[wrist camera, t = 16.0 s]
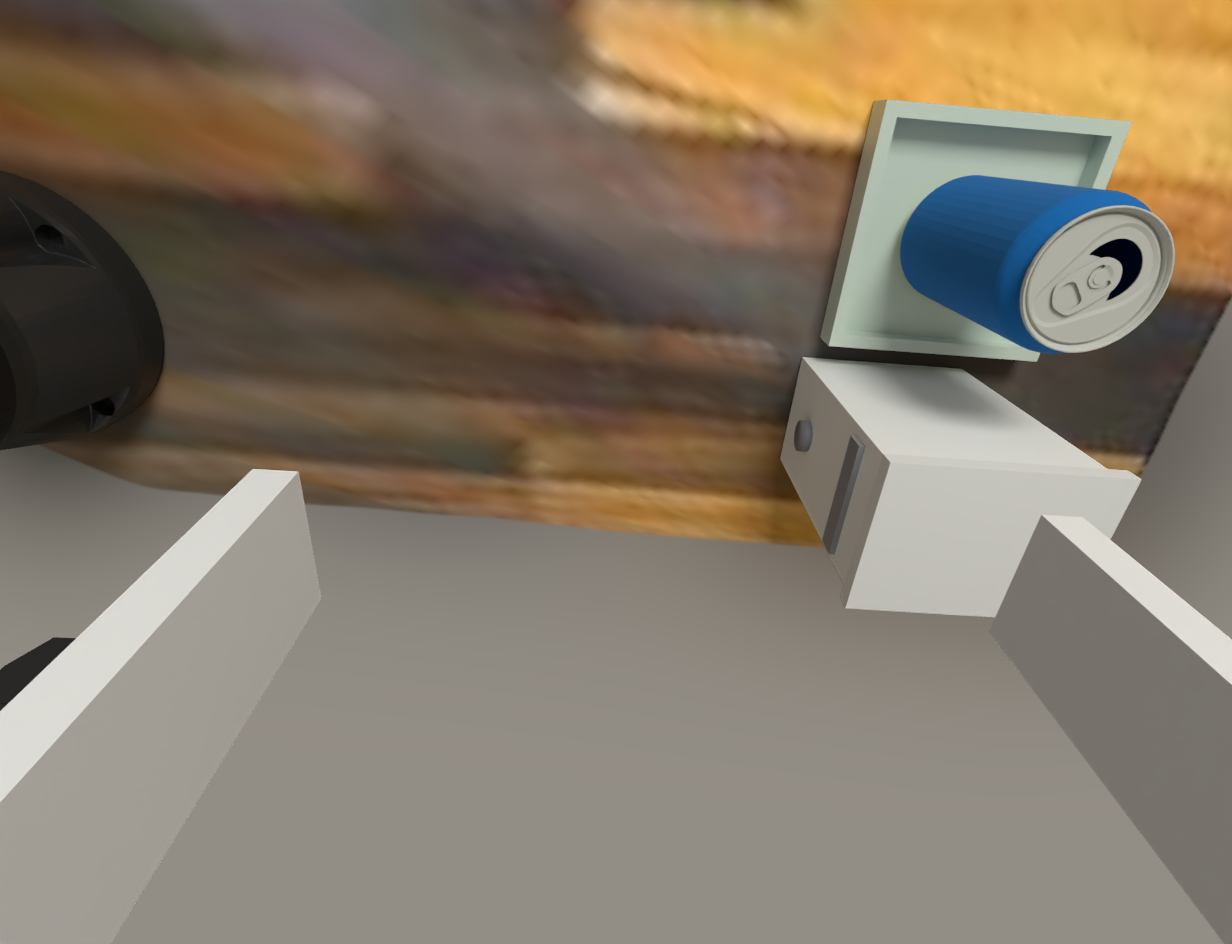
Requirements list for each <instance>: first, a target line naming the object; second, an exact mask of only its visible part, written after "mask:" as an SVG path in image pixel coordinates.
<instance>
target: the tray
mask: <svg viewBox="0 0 1232 944" xmlns="http://www.w3.org/2000/svg"><path fill="white" fill-rule="evenodd" d="M1131 123H1132V122H1130V121H1119V120H1108V119H1097V118H1086V117H1075V116H1064V115H1052V114H1041V113H1030V112H1019V111H1008V110H997V109H986V108H974V107H963V106H952V105H941V104H930V103H919V102H908V101H897V100H879V101H874V103H873V108H872V112H871V117H870V121H869V125H868V130H867V134H866V138H865V143H864V147H863V151H862V156H861V160H860V165H859V169H858V173H857V178H856V182H855V186H854V191H853V195H852V199H851V204H850V208H849V213H848V217H847V221H846V226H845V230H844V234H843V239H842V243H841V247H840V252H839V256H838V261H837V265H836V269H835V274H834V278H833V282H832V287H831V291H830V295H829V300H828V304H827V309H826V313H825V317H824V322H823V326H822V330H821V335H820V338H821V339H822V340H823V341H824V342H825V343H826V344H827V345H828V346H834V347H848V348H861V349H875V350H888V351H902V352H915V353H928V354H942V355H955V356H969V357H982V358H995V359H1009V360H1022V361H1036V362H1037V360H1038V357H1039V355H1040V353H1039V352H1035V351H1031V350H1028V349H1026V348H1023V347H1021V346H1019V345H1017V344H1015V343H1013V342H1011V341H1010V340H1008V339H1006V338H1004V337H1002V336H1000V335H998V334H996V333H994V332H992V331H991V330H989V329H987V328H985V327H983V326H981V325H979V324H977V323H975V322H973V321H971V320H970V319H968V318H966V317H964V316H962V315H960V314H958V313H956V312H954V311H952V310H950V309H949V308H947V307H945V306H943V305H941V304H939V303H937V302H935V301H933V300H931V299H930V298H928V297H926V296H924V295H922V294H921V293H919V292H918V291H916V290H915V289H914V288H913V287H912V286H911V284H910V283H909V282H908V280H907V279H906V277H905V275H904V272H903V270H902V266H901V261H900V245H901V239H902V235H903V232H904V229H905V226H906V224H907V222H908V220H909V218H910V216H911V214H912V213H913V212H914V210H915V209H916V207H917V206H918V205H919V204H920V203H921V201H922V200H923V199H924V198H925V197H926V196H928V195H929V194H930V193H931V192H932V191H934V190H935V189H936V188H938V187H939V186H941V185H943V184H945V183H947V182H949V181H951V180H953V179H957V178H960V177H964V176H970V175H982V176H990V177H999V178H1008V179H1016V180H1025V181H1033V182H1042V183H1051V184H1059V185H1068V186H1077V187H1085V188H1094V189H1102V190H1105V189H1106V186H1107V184H1108V181H1109V179H1110V176H1111V174H1112V171H1113V168H1114V166H1115V163H1116V161H1117V158H1118V156H1119V153H1120V151H1121V148H1122V146H1123V143H1124V141H1125V138H1126V136H1127V133H1128V131H1129V128H1130V126H1131Z"/></svg>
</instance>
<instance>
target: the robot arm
mask: <svg viewBox="0 0 1232 944" xmlns="http://www.w3.org/2000/svg"><path fill="white" fill-rule="evenodd" d="M162 361H163V335H162V328H161V324H160V319H159V316H158V312H157V309H156V306H155V304H154V301H153V298H152V296H151V294H150V292H149V290H148V288H147V286H146V284H145V282H144V280H143V278H142V277H141V275H140V273H139V272H138V270H137V268H136V267H135V266H134V264H133V263H132V261H131V260H130V258H129V257H128V256H127V254H126V253H125V252H124V251H123V249H122V248H121V247H120V246H119V245H118V244H117V242H116V241H115V240H114V239H113V238H112V237H111V236H110V235H109V234H108V233H107V232H106V231H105V230H104V229H103V228H102V227H101V226H100V225H99V224H98V223H97V222H95V221H94V220H93V219H92V218H91V217H90V216H88V215H87V214H86V213H85V212H83V211H82V210H81V209H79V208H78V207H77V206H75V205H74V204H72V203H71V202H69V201H68V200H66V199H65V198H63V197H61V196H60V195H58V194H57V193H55V192H53V191H51V190H49V189H47V188H45V187H43V186H41V185H39V184H37V183H35V182H32V181H30V180H27V179H25V178H22V177H19V176H16V175H13V174H10V173H6V172H2V171H0V450H5V449H11V448H18V447H24V446H31V445H37V444H44V443H50V442H57V441H63V440H70V439H75V438H79V437H83V436H86V435H89V434H92V433H95V432H98V431H100V430H102V429H104V428H106V427H108V426H109V425H111V424H113V423H115V422H116V421H118V420H120V419H121V418H123V417H125V416H127V415H128V414H130V413H131V412H133V411H134V410H135V409H137V408H138V407H139V406H140V405H141V404H142V403H143V402H144V401H145V400H146V399H147V398H148V396H149V395H150V393H151V392H152V390H153V388H154V387H155V385H156V382H157V380H158V378H159V374H160V371H161V367H162ZM320 600H321V593H320V588H319V582H318V577H317V571H316V566H315V560H314V554H313V549H312V543H311V538H310V532H309V527H308V521H307V516H306V510H305V505H304V499H303V493H302V488H301V482H300V477H299V472H296V471H279V470H262V469H252V470H251V471H250V472H249V473H248V474H247V475H246V476H245V477H244V478H243V479H242V480H241V481H240V482H239V483H238V484H237V485H236V486H235V487H234V488H233V489H231V490H230V491H229V492H228V493H227V494H226V495H225V496H224V497H223V498H222V499H221V500H220V501H219V502H218V503H217V504H216V505H215V506H214V507H213V508H212V509H211V510H210V511H209V512H208V513H207V514H206V515H205V516H203V517H202V518H201V519H200V520H199V521H198V522H197V523H196V524H195V525H194V526H193V527H192V528H191V529H190V530H189V531H188V532H187V533H186V534H185V535H184V536H182V537H181V539H179V540H178V541H177V542H176V543H175V544H174V545H173V546H172V547H171V548H170V549H169V550H168V551H167V552H166V553H165V554H164V555H163V556H162V557H161V558H160V559H159V560H158V561H156V562H155V563H154V564H153V565H152V566H151V567H150V568H149V569H148V570H147V571H146V572H145V573H144V574H143V575H142V576H141V577H140V578H139V579H138V580H137V581H136V582H135V583H134V584H132V585H131V586H130V587H129V588H128V589H127V590H126V591H125V592H124V593H123V594H122V595H121V596H120V597H119V598H118V599H117V600H116V601H115V602H114V603H113V604H112V605H111V606H110V607H108V609H106V610H105V611H104V612H103V613H102V614H101V615H100V616H99V617H98V618H97V619H96V620H95V621H94V622H93V623H92V624H91V625H90V626H89V627H88V628H87V629H85V631H83V632H82V633H81V634H80V635H79V636H78V637H77V638H52V639H51V640H49V641H47V642H45V643H43V644H42V645H40V646H38V647H37V648H35V649H33V650H31V651H30V652H28V653H26V654H25V655H23V656H21V657H19V658H18V659H16V660H14V661H12V662H11V663H9V664H7V665H5V666H4V667H3V668H2V669H1V670H0V944H111V943H112V941H113V939H114V937H115V936H116V934H117V933H118V931H119V929H120V928H121V926H122V925H123V923H124V921H125V920H126V918H127V916H128V914H129V913H130V911H131V910H132V908H133V907H134V905H135V903H136V902H137V900H138V898H139V897H140V895H141V893H142V892H143V890H144V888H145V887H146V885H147V883H148V882H149V880H150V878H151V877H152V875H153V874H154V872H155V871H156V869H157V867H158V865H159V864H160V862H161V861H162V859H163V857H164V856H165V854H166V852H167V851H168V849H169V847H170V846H171V844H172V842H173V841H174V839H175V838H176V836H177V834H178V833H179V831H180V830H181V828H182V826H183V824H184V823H185V821H186V820H187V818H188V816H189V815H190V813H191V811H192V810H193V808H194V807H195V805H196V803H197V802H198V800H199V798H200V797H201V795H202V793H203V792H204V790H205V788H206V787H207V785H208V784H209V782H210V780H211V779H212V777H213V775H214V774H215V772H216V771H217V769H218V767H219V766H220V764H221V762H222V760H223V759H224V757H225V756H226V754H227V753H228V751H229V749H230V748H231V746H232V744H233V743H234V741H235V739H236V738H237V736H238V734H239V733H240V731H241V730H242V728H243V726H244V725H245V723H246V721H247V720H248V718H249V716H250V715H251V713H252V712H253V710H254V708H255V707H256V705H257V703H258V702H259V700H260V698H261V697H262V695H263V693H264V692H265V690H266V689H267V687H268V685H269V684H270V682H271V680H272V679H273V677H274V675H275V674H276V672H277V670H278V669H279V667H280V665H281V664H282V662H283V661H284V659H285V657H286V656H287V654H288V653H289V651H290V649H291V648H292V646H293V644H294V643H295V641H296V639H297V638H298V636H299V634H300V633H301V631H302V629H303V628H304V626H305V625H306V623H307V621H308V620H309V618H310V616H311V615H312V613H313V612H314V610H315V608H316V607H317V605H318V603H319V601H320ZM989 633H990V634H991V635H992V637H993V638H994V639H995V641H996V642H997V643H998V645H999V646H1000V647H1001V649H1002V650H1003V651H1004V653H1005V654H1006V655H1007V656H1008V658H1009V659H1010V661H1011V662H1012V663H1013V665H1014V666H1015V667H1016V668H1017V670H1018V671H1019V672H1020V674H1021V675H1022V676H1023V678H1024V679H1025V680H1026V682H1027V683H1028V684H1029V686H1030V687H1031V688H1032V689H1033V691H1034V692H1035V694H1036V695H1037V696H1038V698H1039V699H1040V700H1041V701H1042V703H1043V704H1044V706H1045V707H1046V708H1047V709H1048V711H1049V712H1050V714H1051V715H1052V716H1053V718H1054V719H1055V720H1056V722H1057V723H1058V724H1059V726H1060V727H1061V728H1062V730H1063V731H1064V732H1065V733H1066V735H1067V736H1068V737H1069V739H1070V740H1071V741H1072V743H1073V744H1074V745H1075V747H1076V748H1077V749H1078V751H1079V752H1080V753H1081V755H1082V756H1083V757H1084V759H1085V760H1086V761H1087V762H1088V764H1089V765H1090V767H1091V768H1092V769H1093V771H1094V772H1095V773H1096V775H1097V776H1098V777H1099V778H1100V780H1101V781H1102V783H1103V784H1104V785H1105V787H1106V788H1107V789H1108V791H1109V792H1110V793H1111V794H1112V796H1113V797H1114V798H1115V800H1116V801H1117V802H1118V804H1119V805H1120V806H1121V808H1122V809H1123V810H1124V812H1125V813H1126V814H1127V815H1128V817H1129V818H1130V820H1131V821H1132V822H1133V823H1134V825H1135V826H1136V828H1137V829H1138V830H1139V832H1140V833H1141V834H1142V836H1143V837H1144V838H1145V839H1146V841H1147V842H1148V844H1149V845H1150V846H1151V848H1152V849H1153V850H1154V851H1155V853H1156V854H1157V855H1158V857H1159V858H1160V859H1161V861H1162V862H1163V863H1164V865H1165V866H1166V867H1167V869H1168V870H1169V871H1170V873H1171V874H1172V875H1173V877H1174V878H1175V879H1176V881H1177V882H1178V883H1179V885H1180V886H1181V887H1182V889H1183V890H1184V891H1185V893H1186V894H1187V895H1188V897H1189V898H1190V899H1191V901H1192V902H1193V903H1194V905H1195V906H1196V907H1197V908H1198V910H1199V911H1200V913H1201V914H1202V915H1203V916H1204V918H1205V919H1206V920H1207V922H1208V923H1209V924H1210V926H1211V927H1212V928H1213V930H1214V931H1215V932H1216V934H1217V935H1218V936H1219V938H1220V939H1221V940H1222V942H1223V943H1224V944H1232V640H1231V639H1230V638H1229V637H1228V636H1227V635H1225V634H1224V633H1223V632H1222V631H1221V630H1219V629H1218V628H1217V627H1216V626H1214V625H1213V624H1212V623H1211V622H1209V621H1208V620H1207V619H1206V618H1205V617H1203V616H1202V615H1201V614H1200V613H1199V612H1197V611H1196V610H1195V609H1194V608H1192V607H1191V606H1190V605H1189V604H1188V603H1186V602H1185V601H1184V600H1183V599H1181V598H1180V597H1179V596H1178V595H1177V594H1175V593H1174V592H1173V591H1172V590H1171V589H1169V588H1168V587H1167V586H1166V585H1165V584H1163V583H1162V582H1161V581H1160V580H1158V579H1157V578H1156V577H1155V576H1154V575H1152V574H1151V573H1150V572H1149V571H1148V570H1146V569H1145V568H1144V567H1143V566H1141V565H1140V564H1139V563H1138V562H1137V561H1135V560H1134V559H1133V558H1132V557H1131V556H1129V555H1128V554H1127V553H1126V552H1124V551H1123V550H1122V549H1121V548H1120V547H1118V546H1117V545H1116V544H1115V543H1113V542H1112V541H1111V540H1110V539H1109V538H1107V537H1106V536H1105V535H1104V534H1103V533H1101V532H1100V531H1099V530H1098V529H1096V528H1095V527H1094V526H1093V525H1092V524H1090V523H1089V522H1088V521H1087V520H1085V519H1084V518H1083V517H1072V516H1055V515H1041V517H1040V519H1039V521H1038V523H1037V526H1036V528H1035V530H1034V532H1033V534H1032V537H1031V539H1030V541H1029V543H1028V546H1027V548H1026V550H1025V552H1024V554H1023V557H1022V559H1021V561H1020V563H1019V566H1018V568H1017V570H1016V572H1015V574H1014V577H1013V579H1012V581H1011V583H1010V586H1009V588H1008V590H1007V592H1006V594H1005V597H1004V599H1003V601H1002V603H1001V606H1000V608H999V610H998V612H997V614H996V617H995V619H994V621H993V623H992V626H991V628H990V630H989Z"/></svg>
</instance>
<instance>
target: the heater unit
mask: <svg viewBox="0 0 1232 944" xmlns="http://www.w3.org/2000/svg"><path fill="white" fill-rule="evenodd" d="M780 460H781V462H782V464H783V466H784V468H785V470H786V472H787V474H788V476H789V478H790V479H791V481H792V483H793V485H794V487H795V489H796V491H797V493H798V495H799V497H800V499H801V501H802V503H803V505H804V507H805V509H806V511H807V513H808V515H809V517H810V519H811V521H812V523H813V525H814V527H815V529H816V531H817V533H818V535H819V537H820V539H821V541H822V543H823V545H824V547H825V549H826V551H827V553H828V554H829V557H830V558H831V561H832V563H833V565H834V566H835V568H836V570H837V572H838V574H839V576H840V578H841V580H842V582H843V584H844V586H843V589H842V592H841V596H840V598H841V601H842V603H843V605H844V607H845V608H849V609H865V610H883V611H899V612H916V613H933V614H950V615H967V616H984V617H996V614H997V612H998V610H999V608H1000V606H1001V603H1002V601H1003V599H1004V597H1005V594H1006V592H1007V590H1008V588H1009V586H1010V583H1011V581H1012V579H1013V577H1014V574H1015V572H1016V570H1017V568H1018V566H1019V563H1020V561H1021V559H1022V557H1023V554H1024V552H1025V550H1026V548H1027V546H1028V543H1029V541H1030V539H1031V537H1032V534H1033V532H1034V530H1035V528H1036V526H1037V523H1038V521H1039V519H1040V517H1041V515H1055V516H1072V517H1083V518H1084V519H1085V520H1087V521H1088V522H1089V523H1090V524H1092V525H1093V526H1094V527H1095V528H1096V529H1098V530H1099V531H1100V532H1101V533H1103V534H1104V535H1105V536H1106V537H1107V538H1109V539H1111V537H1112V535H1113V533H1114V531H1115V529H1116V528H1117V526H1118V524H1119V521H1120V520H1121V518H1122V516H1123V514H1124V512H1125V510H1126V509H1127V507H1128V504H1129V503H1130V501H1131V499H1132V497H1133V495H1134V493H1135V491H1136V489H1137V488H1138V485H1139V483H1140V481H1141V479H1140V478H1139V477H1137V476H1135V475H1134V474H1132V473H1131V472H1129V471H1127V470H1113V469H1107V468H1105V467H1104V466H1102V465H1101V464H1099V463H1098V462H1097V461H1095V460H1094V459H1092V458H1091V457H1089V456H1088V455H1086V454H1085V453H1083V452H1082V451H1081V450H1079V449H1078V448H1076V447H1075V446H1073V445H1072V444H1070V443H1069V442H1067V441H1066V440H1065V439H1063V438H1062V437H1060V436H1059V435H1057V434H1056V433H1054V432H1053V431H1051V430H1050V429H1049V428H1047V427H1046V426H1044V425H1043V424H1041V423H1040V422H1038V421H1037V420H1035V419H1034V418H1033V417H1031V416H1030V415H1028V414H1027V413H1025V412H1024V411H1022V410H1021V409H1019V408H1018V407H1017V406H1015V405H1014V404H1012V403H1011V402H1009V401H1008V400H1006V399H1005V398H1003V397H1002V396H1001V395H999V394H998V393H996V392H995V391H993V390H992V389H990V388H989V387H987V386H986V385H985V384H983V383H982V382H980V381H979V380H977V379H976V378H974V377H973V376H971V375H970V374H969V373H967V372H966V371H964V370H963V369H958V368H944V367H931V366H917V365H904V364H890V363H877V362H863V361H849V360H836V359H822V358H809V357H802V361H801V365H800V370H799V374H798V379H797V383H796V388H795V393H794V397H793V402H792V406H791V411H790V415H789V420H788V425H787V429H786V434H785V438H784V443H783V447H782V452H781V456H780Z"/></svg>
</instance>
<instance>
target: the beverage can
mask: <svg viewBox="0 0 1232 944" xmlns="http://www.w3.org/2000/svg"><path fill="white" fill-rule="evenodd" d="M1174 260H1175V248H1174V243H1173V238H1172V236H1171V233H1170V231H1169V229H1168V228H1167V226H1166V225H1165V223H1164V222H1163V221H1162V220H1161V219H1160V218H1159V217H1158V216H1156V215H1155V214H1153V213H1152V212H1151V211H1150V210H1149V208H1148V207H1147V206H1146V205H1145V204H1143V203H1142V202H1141V201H1139V200H1138V199H1136V198H1134V197H1132V196H1130V195H1128V194H1125V193H1122V192H1118V191H1111V190H1102V189H1094V188H1085V187H1077V186H1068V185H1059V184H1051V183H1042V182H1033V181H1025V180H1016V179H1008V178H999V177H990V176H982V175H970V176H964V177H960V178H957V179H953V180H951V181H949V182H947V183H945V184H943V185H941V186H939V187H938V188H936V189H935V190H934V191H932V192H931V193H930V194H929V195H928V196H926V197H925V198H924V199H923V200H922V201H921V203H920V204H919V205H918V206H917V207H916V209H915V210H914V212H913V213H912V214H911V216H910V218H909V220H908V222H907V224H906V226H905V229H904V232H903V235H902V239H901V245H900V261H901V266H902V270H903V272H904V275H905V277H906V279H907V280H908V282H909V283H910V284H911V286H912V287H913V288H914V289H915V290H916V291H918V292H919V293H921V294H922V295H924V296H926V297H928V298H930V299H931V300H933V301H935V302H937V303H939V304H941V305H943V306H945V307H947V308H949V309H950V310H952V311H954V312H956V313H958V314H960V315H962V316H964V317H966V318H968V319H970V320H971V321H973V322H975V323H977V324H979V325H981V326H983V327H985V328H987V329H989V330H991V331H992V332H994V333H996V334H998V335H1000V336H1002V337H1004V338H1006V339H1008V340H1010V341H1011V342H1013V343H1015V344H1017V345H1019V346H1021V347H1023V348H1026V349H1028V350H1031V351H1035V352H1039V353H1049V354H1053V353H1066V352H1068V353H1078V352H1086V351H1091V350H1095V349H1099V348H1101V347H1104V346H1107V345H1109V344H1111V343H1113V342H1115V341H1117V340H1119V339H1120V338H1122V337H1124V336H1125V335H1127V334H1128V333H1130V332H1131V331H1132V330H1134V329H1135V328H1136V327H1137V326H1138V325H1139V324H1141V323H1142V322H1143V321H1144V320H1145V319H1146V318H1147V317H1148V315H1149V314H1150V313H1151V312H1152V311H1153V310H1154V308H1155V307H1156V306H1157V304H1158V303H1159V301H1160V300H1161V298H1162V296H1163V295H1164V293H1165V291H1166V289H1167V287H1168V284H1169V282H1170V279H1171V276H1172V272H1173V268H1174Z"/></svg>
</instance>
